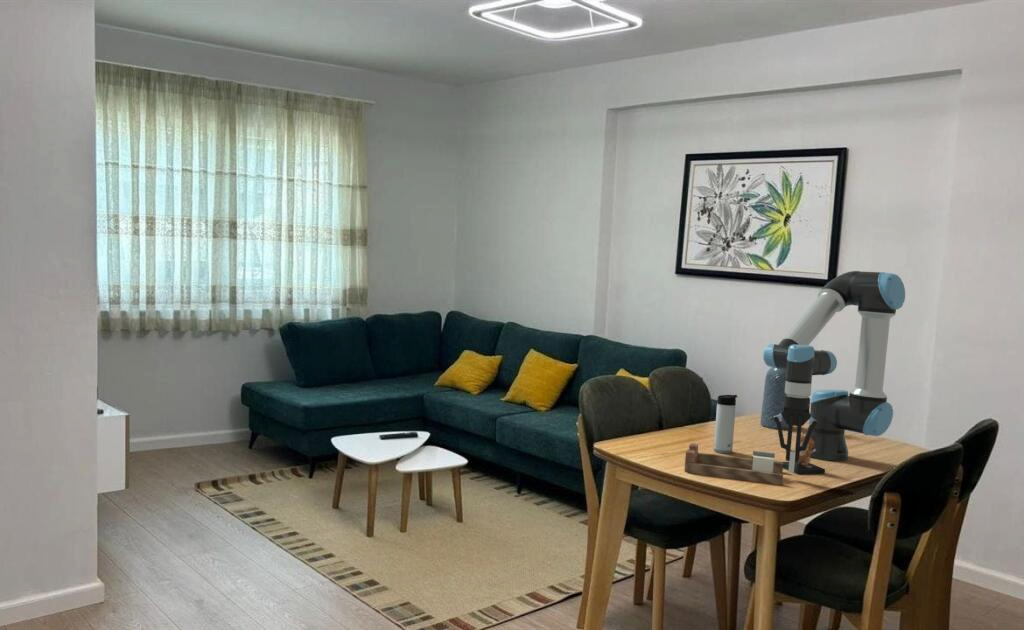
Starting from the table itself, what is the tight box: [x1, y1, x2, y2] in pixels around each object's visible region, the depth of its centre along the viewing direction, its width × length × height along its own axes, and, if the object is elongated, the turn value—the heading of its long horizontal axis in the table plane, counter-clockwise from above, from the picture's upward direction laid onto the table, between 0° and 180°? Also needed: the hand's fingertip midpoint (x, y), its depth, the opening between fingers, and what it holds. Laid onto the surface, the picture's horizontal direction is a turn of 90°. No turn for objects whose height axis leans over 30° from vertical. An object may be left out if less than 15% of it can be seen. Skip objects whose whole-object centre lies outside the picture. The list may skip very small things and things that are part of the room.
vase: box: [759, 367, 788, 430], centre depth 342 cm, size 12×12×28 cm
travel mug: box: [713, 394, 738, 455], centre depth 292 cm, size 6×7×20 cm
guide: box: [684, 443, 784, 486], centre depth 264 cm, size 29×17×6 cm, turn 72°
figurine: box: [780, 431, 826, 475], centre depth 272 cm, size 10×10×12 cm
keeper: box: [751, 450, 776, 473], centre depth 262 cm, size 6×6×7 cm
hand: (791, 471), depth 259 cm, fingers closed
